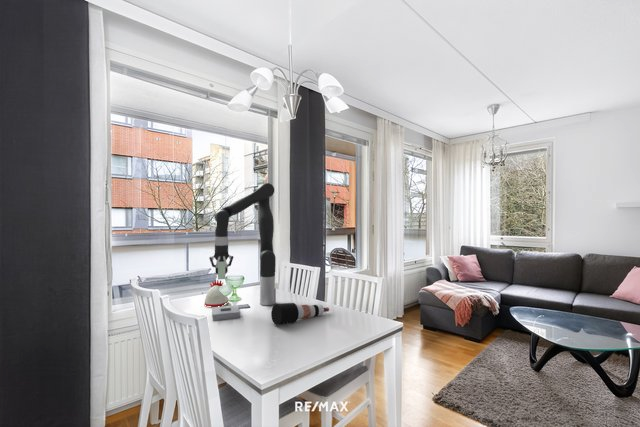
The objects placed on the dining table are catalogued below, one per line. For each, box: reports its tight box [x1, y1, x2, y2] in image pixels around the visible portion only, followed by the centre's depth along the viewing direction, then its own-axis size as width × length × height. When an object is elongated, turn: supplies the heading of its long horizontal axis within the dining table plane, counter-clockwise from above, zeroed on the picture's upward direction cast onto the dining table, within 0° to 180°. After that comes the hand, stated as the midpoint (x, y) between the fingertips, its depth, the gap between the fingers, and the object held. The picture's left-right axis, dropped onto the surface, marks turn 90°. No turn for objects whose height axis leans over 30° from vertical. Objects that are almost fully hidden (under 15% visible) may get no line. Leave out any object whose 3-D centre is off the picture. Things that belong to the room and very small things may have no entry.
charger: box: [217, 262, 226, 280], centre depth 182 cm, size 4×4×10 cm
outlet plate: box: [211, 304, 241, 321], centre depth 173 cm, size 14×14×3 cm
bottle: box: [270, 302, 330, 326], centre depth 166 cm, size 10×34×10 cm, turn 128°
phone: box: [237, 303, 251, 310], centre depth 188 cm, size 7×13×1 cm, turn 113°
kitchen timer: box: [204, 279, 229, 308], centre depth 195 cm, size 14×14×15 cm
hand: (221, 273), depth 182 cm, fingers closed on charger, 4 cm apart
